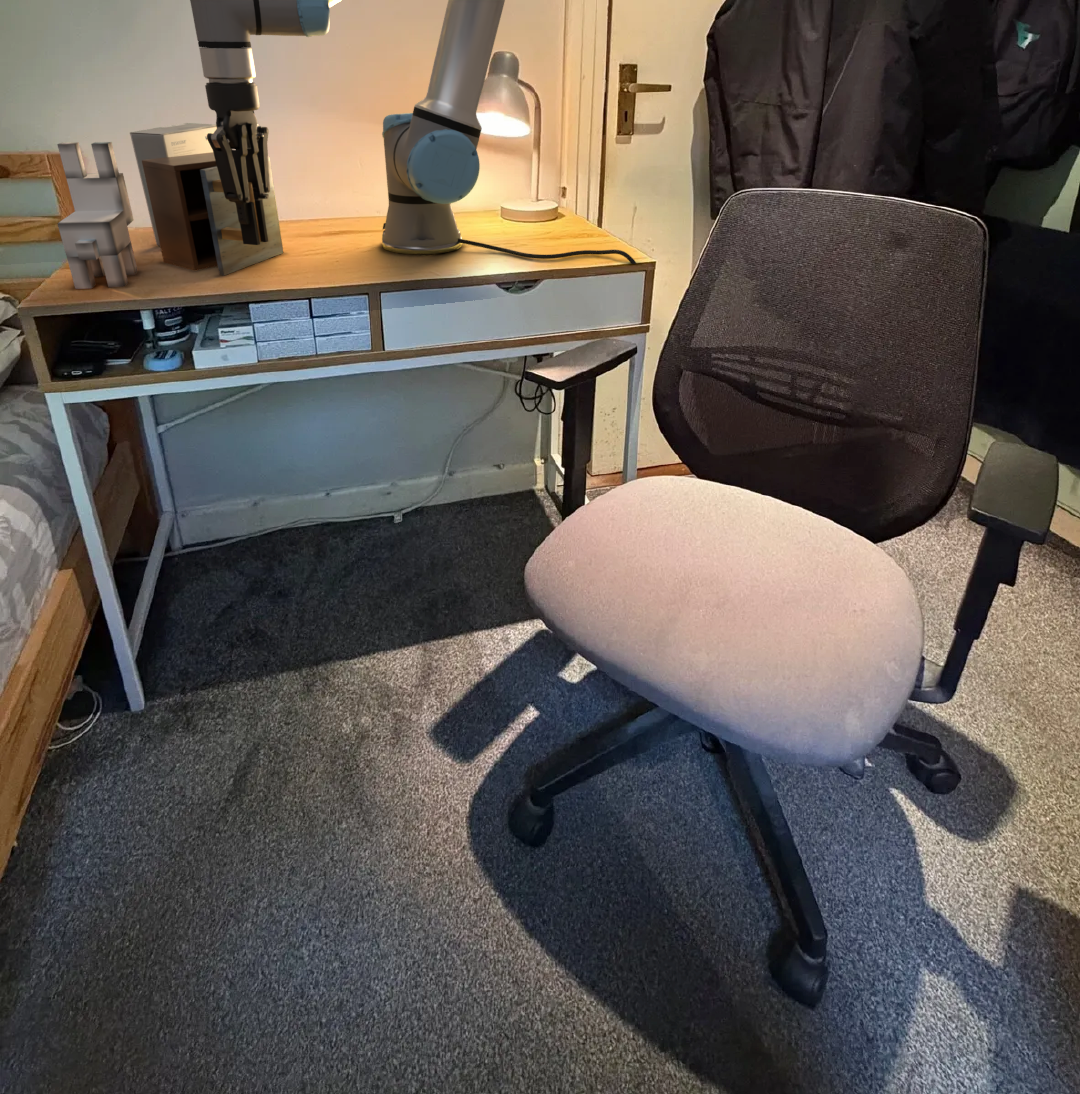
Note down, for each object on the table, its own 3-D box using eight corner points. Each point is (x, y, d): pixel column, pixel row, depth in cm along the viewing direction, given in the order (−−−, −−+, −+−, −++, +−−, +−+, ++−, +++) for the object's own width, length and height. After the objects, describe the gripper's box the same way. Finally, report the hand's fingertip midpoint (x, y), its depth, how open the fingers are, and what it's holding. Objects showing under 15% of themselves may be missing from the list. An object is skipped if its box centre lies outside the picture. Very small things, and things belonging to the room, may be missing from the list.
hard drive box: (208, 230, 174) (188, 122, 163) (239, 233, 172) (220, 124, 161) (154, 245, 162) (128, 130, 151) (186, 249, 159) (162, 132, 149)
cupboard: (278, 252, 158) (264, 154, 149) (195, 271, 146) (173, 165, 137) (247, 245, 163) (231, 149, 154) (163, 262, 151) (141, 160, 142)
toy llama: (71, 293, 133) (32, 154, 123) (98, 266, 148) (66, 140, 137) (121, 291, 135) (87, 154, 124) (144, 264, 149) (115, 140, 139)
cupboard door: (315, 255, 156) (303, 158, 147) (258, 279, 141) (241, 172, 132) (279, 252, 158) (264, 155, 149) (219, 275, 143) (199, 169, 134)
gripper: (237, 78, 135) (261, 232, 147) (177, 82, 123) (209, 250, 135) (278, 79, 133) (299, 235, 145) (222, 83, 121) (249, 253, 133)
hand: (255, 242), depth 140 cm, fingers closed on cupboard door, 2 cm apart
